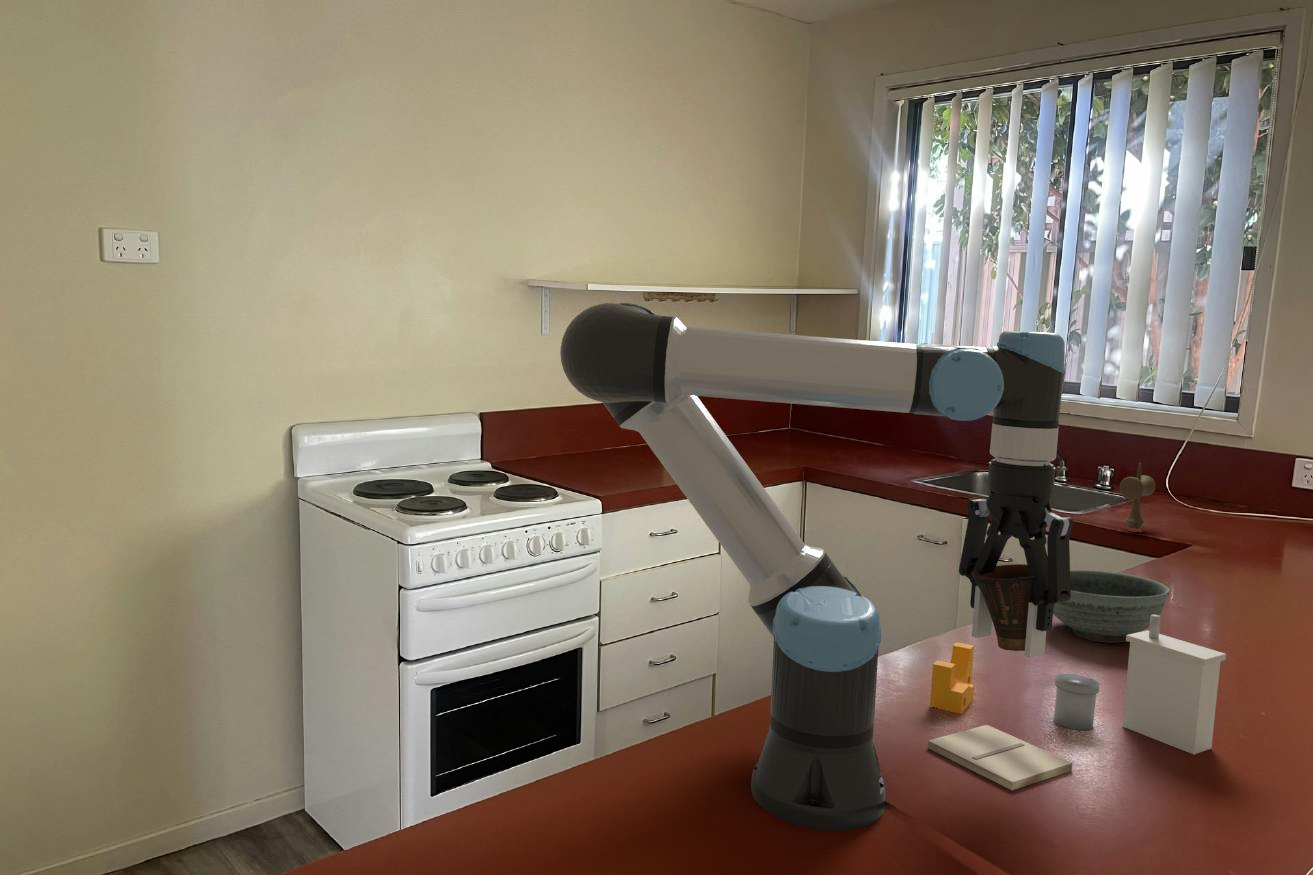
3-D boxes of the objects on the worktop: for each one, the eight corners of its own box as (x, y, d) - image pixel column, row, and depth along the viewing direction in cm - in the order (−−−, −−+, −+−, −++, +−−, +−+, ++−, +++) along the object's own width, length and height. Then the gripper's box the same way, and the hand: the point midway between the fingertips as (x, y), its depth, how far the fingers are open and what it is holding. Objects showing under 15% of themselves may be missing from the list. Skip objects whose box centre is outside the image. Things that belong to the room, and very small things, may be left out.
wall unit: (1195, 756, 129) (1207, 636, 127) (1117, 725, 138) (1128, 613, 136) (1216, 748, 131) (1228, 631, 130) (1138, 719, 141) (1149, 608, 139)
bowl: (1132, 664, 164) (1138, 604, 163) (1013, 631, 179) (1018, 576, 178) (1185, 640, 178) (1190, 584, 176) (1070, 611, 193) (1074, 560, 192)
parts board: (1011, 790, 118) (1012, 781, 118) (927, 747, 129) (928, 739, 128) (1071, 770, 123) (1072, 761, 123) (986, 731, 134) (987, 723, 134)
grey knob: (1081, 733, 135) (1085, 690, 134) (1043, 719, 139) (1047, 677, 138) (1103, 725, 138) (1107, 682, 137) (1065, 711, 143) (1069, 670, 142)
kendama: (1113, 538, 262) (1120, 462, 260) (1128, 534, 269) (1135, 459, 266) (1137, 543, 258) (1144, 465, 255) (1152, 538, 264) (1159, 462, 262)
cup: (960, 635, 129) (963, 558, 128) (1031, 637, 128) (1035, 559, 128) (981, 656, 120) (985, 573, 119) (1058, 658, 120) (1062, 575, 119)
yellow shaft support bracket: (960, 715, 140) (964, 670, 140) (929, 708, 143) (932, 663, 142) (982, 689, 151) (985, 647, 150) (953, 683, 153) (956, 642, 152)
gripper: (1117, 471, 115) (1099, 665, 118) (977, 448, 132) (963, 618, 135) (1076, 475, 111) (1058, 676, 114) (936, 450, 128) (924, 626, 131)
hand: (1007, 644), depth 124 cm, fingers closed on cup, 7 cm apart
